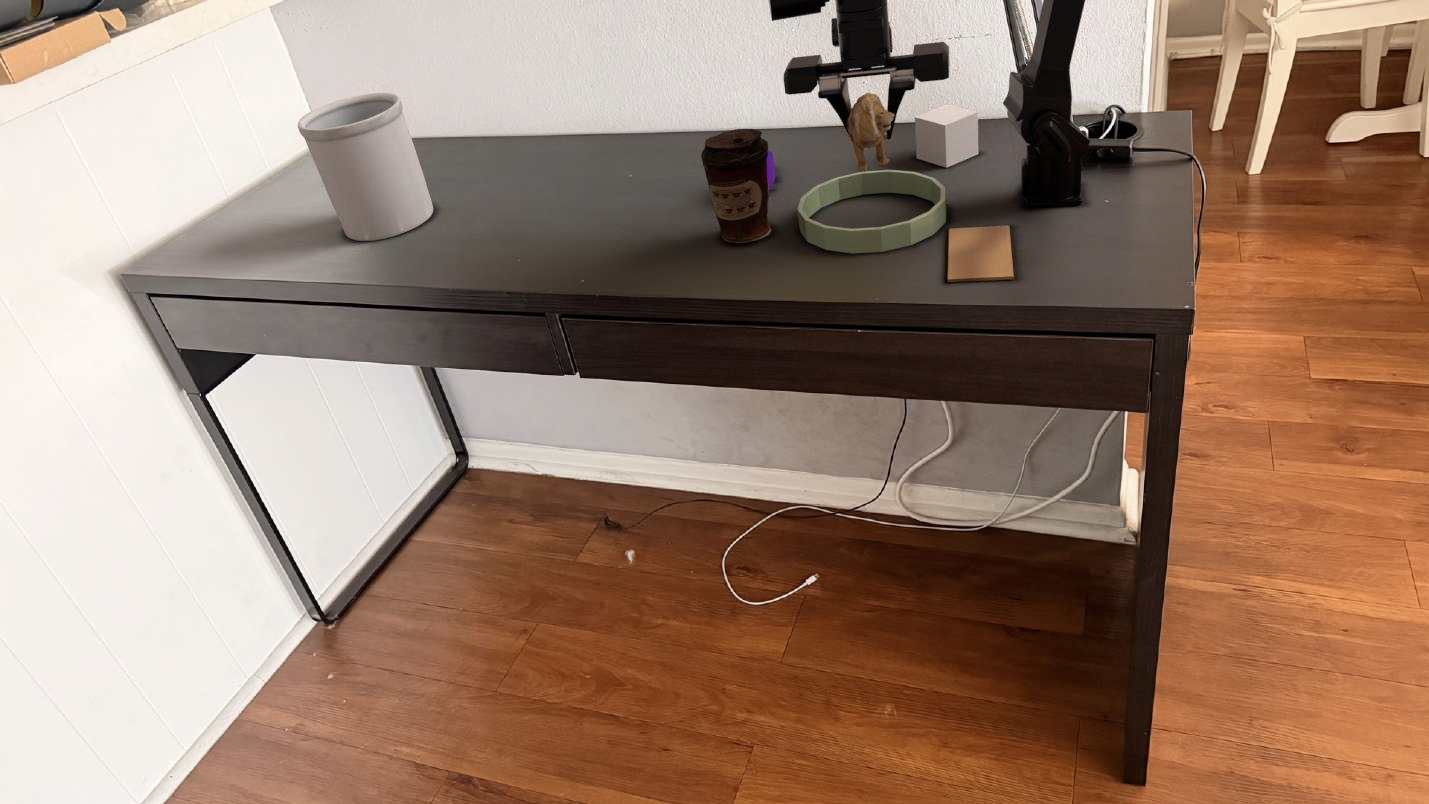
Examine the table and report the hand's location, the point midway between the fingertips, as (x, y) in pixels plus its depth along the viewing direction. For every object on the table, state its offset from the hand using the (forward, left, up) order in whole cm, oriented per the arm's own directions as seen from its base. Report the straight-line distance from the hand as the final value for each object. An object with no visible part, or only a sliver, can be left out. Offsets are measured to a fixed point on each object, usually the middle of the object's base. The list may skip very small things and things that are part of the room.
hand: (871, 139), depth 123 cm
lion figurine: (-1, +1, -2) cm, 2 cm away
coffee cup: (+17, +2, -11) cm, 20 cm away
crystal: (+18, -15, -11) cm, 26 cm away
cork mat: (-12, +11, -11) cm, 19 cm away
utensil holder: (+75, -10, -11) cm, 76 cm away
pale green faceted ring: (+1, 0, -11) cm, 11 cm away
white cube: (-8, -20, -11) cm, 25 cm away
